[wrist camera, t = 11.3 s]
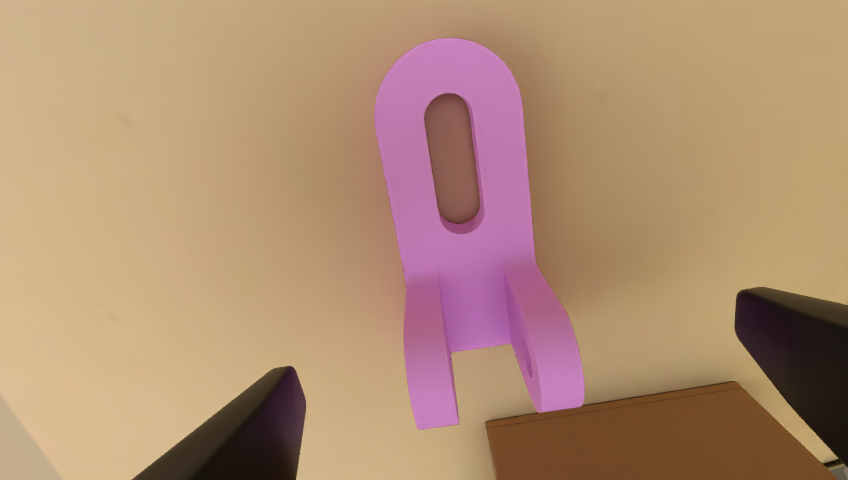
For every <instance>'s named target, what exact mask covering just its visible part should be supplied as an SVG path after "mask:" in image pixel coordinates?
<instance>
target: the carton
mask: <svg viewBox="0 0 848 480" xmlns="http://www.w3.org/2000/svg"><path fill="white" fill-rule="evenodd" d="M486 428H487V433H488V439H489V445H490V451H491V456H492V462H493V468H494V473H495V479H496V480H839V479H838V478H837V477H836V476H835V475H834V474H833V473H831V472H830V471H829V470H828V469H827V468H826V467H825V466H824V465H823V464H822V463H821V462H820V461H819V460H818V459H817V458H816V457H815V456H814V455H813V454H811V453H810V452H809V451H808V450H807V449H806V448H805V447H804V446H803V445H802V444H801V443H800V442H799V441H798V440H797V439H796V438H795V437H794V436H793V435H791V434H790V433H789V432H788V431H787V430H786V429H785V428H784V427H783V426H782V425H781V424H780V423H779V422H778V421H777V420H776V419H775V418H774V417H773V416H771V415H770V414H769V413H768V412H767V411H766V410H765V409H764V408H763V407H762V406H761V405H760V404H759V403H758V402H757V401H756V400H755V399H754V398H753V397H751V396H750V395H749V394H748V393H747V392H746V391H745V390H744V389H743V388H742V387H741V386H740V385H739V384H738V383H737V382H730V383H724V384H718V385H712V386H706V387H699V388H693V389H687V390H681V391H674V392H668V393H662V394H656V395H649V396H643V397H637V398H631V399H625V400H618V401H612V402H606V403H600V404H593V405H587V406H581V407H577V408H570V409H563V410H556V411H550V412H544V413H537V414H531V415H525V416H519V417H512V418H506V419H500V420H494V421H487V422H486Z"/></svg>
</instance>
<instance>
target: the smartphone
mask: <svg viewBox="0 0 848 480" xmlns="http://www.w3.org/2000/svg"><path fill="white" fill-rule="evenodd" d="M825 467H826V468H827V469H828V470H829V471H830V472H831V473H833V474H834V475H835V476H836V477H837V478H838V479H839V480H848V468H847V467H846V465H845V464H844V463H843V462H842V461H841V462H837V463H834V464H831V465H827V466H825Z"/></svg>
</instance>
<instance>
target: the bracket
mask: <svg viewBox="0 0 848 480" xmlns="http://www.w3.org/2000/svg"><path fill="white" fill-rule="evenodd" d="M445 93H454V94H457V95H459V96H460V97H461V98H462V99H463V100H464V101H465V102H466V104H467V106H468V109H469V116H470V124H471V132H472V140H473V148H474V156H475V164H476V172H477V180H478V188H479V196H480V208H479V211H478V213H477V214H476V216H475V217H474V218H473V219H471V220H470V221H468V222H466V223H462V224H454V223H451V222H448V221H447V220H445V219H444V218H443V217H442V216H441V214H440V213H439V210H438V206H437V199H436V193H435V187H434V181H433V174H432V168H431V162H430V156H429V149H428V143H427V137H426V131H425V124H424V114H425V110H426V108H427V106H428V104H429V103H430V102H431V101H432V100H433V99H434V98H435V97H437V96H439V95H441V94H445ZM374 117H375V129H376V135H377V140H378V145H379V150H380V155H381V160H382V165H383V170H384V175H385V180H386V185H387V190H388V195H389V200H390V205H391V210H392V215H393V220H394V225H395V231H396V236H397V241H398V246H399V251H400V256H401V261H402V266H403V271H404V276H405V283H406V299H405V319H404V353H405V364H406V373H407V381H408V388H409V394H410V400H411V406H412V411H413V415H414V419H415V422H416V425H417V428H418V429H419V430H422V429H429V428H436V427H443V426H450V425H457V424H459V416H458V407H457V399H456V391H455V383H454V375H453V367H452V359H451V352H457V351H464V350H471V349H477V348H484V347H491V346H497V345H504V344H512V346H513V349H514V352H515V355H516V358H517V360H518V363H519V366H520V369H521V372H522V374H523V377H524V380H525V383H526V386H527V388H528V391H529V394H530V397H531V400H532V402H533V405H534V407H535V409H536V411H537V412H538V413H542V412H549V411H556V410H563V409H570V408H577V407H581V406H582V405H583V402H584V394H585V387H584V375H583V368H582V362H581V357H580V352H579V348H578V344H577V341H576V337H575V334H574V331H573V328H572V325H571V322H570V320H569V317H568V315H567V313H566V311H565V309H564V308H563V306H562V304H561V303H560V301H559V300H558V298H557V297H556V295H555V294H554V292H553V290H552V289H551V287H550V286H549V284H548V283H547V281H546V280H545V278H544V276H543V275H542V273H541V272H540V270H539V268H538V266H537V262H536V258H535V249H534V237H533V225H532V213H531V201H530V189H529V177H528V166H527V154H526V142H525V130H524V118H523V106H522V99H521V95H520V91H519V88H518V85H517V82H516V80H515V78H514V76H513V74H512V73H511V71H510V70H509V68H508V67H507V66H506V64H505V63H504V62H503V61H502V60H501V59H500V58H499V57H498V56H497V55H496V54H495V53H493V52H492V51H491V50H489V49H487V48H486V47H484V46H482V45H480V44H478V43H476V42H472V41H469V40H465V39H460V38H441V39H435V40H431V41H428V42H425V43H422V44H420V45H418V46H416V47H414V48H412V49H411V50H409V51H408V52H406V53H405V54H404V55H402V56H401V57H400V58H399V59H398V60H397V61H396V62H395V63H394V65H393V66H392V67H391V68H390V70H389V71H388V73H387V74H386V76H385V78H384V79H383V81H382V83H381V86H380V88H379V91H378V95H377V98H376V104H375V114H374Z"/></svg>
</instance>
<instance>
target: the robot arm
mask: <svg viewBox="0 0 848 480" xmlns="http://www.w3.org/2000/svg"><path fill="white" fill-rule="evenodd" d="M735 332H736V335H737V337H738V339H739V340H740V342H741V343H742V344H743V346H744V347H745V348H746V349H747V351H748V352H749V353H750V355H751V356H752V357H753V359H754V360H755V361H756V363H757V364H758V365H759V366H760V368H761V369H762V370H763V372H764V373H765V374H766V376H767V377H768V378H769V379H770V381H771V382H772V383H773V385H774V386H775V387H776V389H777V390H778V391H779V393H780V394H781V395H782V396H783V397H784V399H785V400H786V401H787V402H788V404H789V405H790V406H791V407H792V408H793V409H794V410H795V412H796V413H797V414H798V415H799V416H800V417H801V418H802V419H803V420H804V421H805V422H806V424H807V425H808V426H809V427H810V428H811V429H812V430H813V431H814V432H815V433H816V434H817V435H818V436H819V438H820V439H821V440H822V441H823V442H824V443H825V444H826V445H827V446H828V447H829V448H830V449H831V450H832V451H833V453H834V454H835V455H836V456H837V457H838V458H839V459H840V460H841V461H842V462H843V463H844V464H845V465H846V467H847V468H848V305H845V304H840V303H836V302H831V301H826V300H822V299H817V298H813V297H808V296H803V295H799V294H794V293H789V292H785V291H780V290H776V289H771V288H766V287H756V288H750V289H745V290H741V291H740V292H739V293H738V294H737V297H736V310H735ZM305 413H306V400H305V396H304V393H303V390H302V387H301V384H300V381H299V378H298V375H297V373H296V370H295V369H294V368H293V367H292V366H286V367H280V368H274V369H272V370H270V371H269V372H268V373H267V374H265V375H264V376H263V377H262V378H260V379H259V380H258V381H256V382H255V383H254V384H253V385H251V386H250V387H249V388H248V389H246V390H245V391H244V392H242V393H241V394H240V395H239V396H237V397H236V398H235V399H234V400H232V401H231V402H230V403H229V404H227V405H226V406H225V407H223V408H222V409H221V410H220V411H218V412H217V413H216V414H215V415H213V416H212V417H211V418H209V419H208V420H207V421H206V422H204V423H203V424H202V425H201V426H199V427H198V428H197V429H195V430H194V431H193V432H192V433H190V434H189V435H188V436H187V437H185V438H184V439H183V440H181V441H180V442H179V443H178V444H176V445H175V446H174V447H173V448H171V449H170V450H169V451H167V452H166V453H165V454H164V455H162V456H161V457H160V458H159V459H157V460H156V461H155V462H153V463H152V464H151V465H150V466H148V467H147V468H146V469H145V470H143V471H142V472H141V473H140V474H138V475H137V476H136V477H134V478H133V479H132V480H296V475H297V469H298V463H299V455H300V448H301V441H302V434H303V427H304V420H305Z"/></svg>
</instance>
